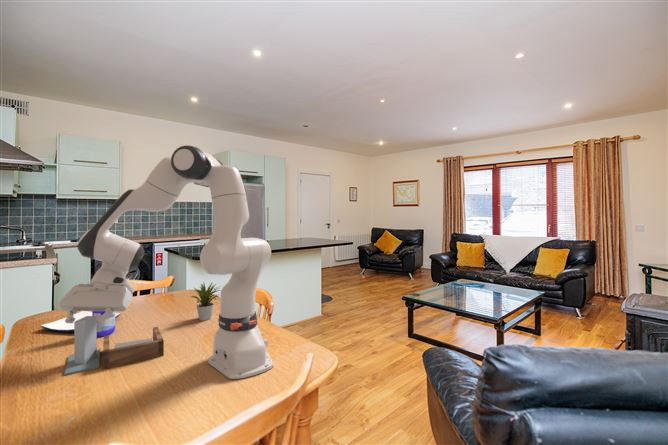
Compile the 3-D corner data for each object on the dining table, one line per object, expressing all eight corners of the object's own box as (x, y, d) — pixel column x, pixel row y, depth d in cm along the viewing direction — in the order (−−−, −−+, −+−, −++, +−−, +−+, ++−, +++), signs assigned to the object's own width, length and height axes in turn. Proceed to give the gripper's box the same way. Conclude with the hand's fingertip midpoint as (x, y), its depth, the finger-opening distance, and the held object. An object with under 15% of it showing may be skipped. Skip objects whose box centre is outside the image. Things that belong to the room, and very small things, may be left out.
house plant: (214, 325, 131) (214, 286, 130) (181, 324, 131) (181, 286, 130) (226, 314, 145) (227, 279, 144) (197, 313, 145) (197, 278, 145)
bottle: (101, 338, 116) (101, 291, 115) (88, 336, 117) (88, 290, 116) (118, 331, 123) (118, 287, 122) (106, 329, 124) (106, 286, 124)
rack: (163, 355, 103) (163, 340, 103) (103, 368, 94) (103, 352, 94) (157, 340, 115) (157, 326, 115) (103, 350, 106) (103, 336, 106)
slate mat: (99, 367, 94) (99, 365, 94) (64, 375, 90) (64, 373, 90) (100, 350, 106) (100, 349, 106) (69, 356, 101) (69, 355, 101)
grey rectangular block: (96, 356, 101) (96, 316, 100) (84, 363, 96) (84, 321, 95) (87, 356, 100) (86, 316, 100) (74, 363, 95) (74, 321, 95)
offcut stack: (156, 356, 103) (156, 341, 103) (111, 364, 97) (111, 349, 97) (156, 351, 107) (156, 337, 107) (113, 358, 101) (113, 343, 101)
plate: (125, 318, 139) (125, 312, 139) (83, 336, 118) (83, 329, 118) (83, 315, 141) (83, 310, 141) (35, 333, 121) (35, 326, 121)
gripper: (69, 278, 104) (43, 317, 94) (131, 279, 104) (111, 318, 95) (80, 288, 109) (56, 326, 99) (140, 289, 109) (121, 327, 99)
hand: (83, 322), depth 97 cm, fingers open, 8 cm apart
